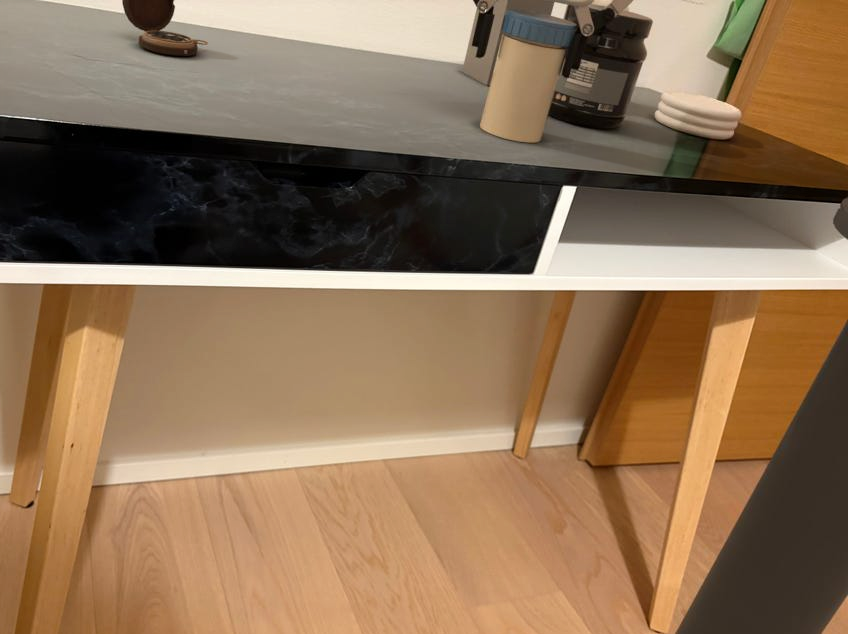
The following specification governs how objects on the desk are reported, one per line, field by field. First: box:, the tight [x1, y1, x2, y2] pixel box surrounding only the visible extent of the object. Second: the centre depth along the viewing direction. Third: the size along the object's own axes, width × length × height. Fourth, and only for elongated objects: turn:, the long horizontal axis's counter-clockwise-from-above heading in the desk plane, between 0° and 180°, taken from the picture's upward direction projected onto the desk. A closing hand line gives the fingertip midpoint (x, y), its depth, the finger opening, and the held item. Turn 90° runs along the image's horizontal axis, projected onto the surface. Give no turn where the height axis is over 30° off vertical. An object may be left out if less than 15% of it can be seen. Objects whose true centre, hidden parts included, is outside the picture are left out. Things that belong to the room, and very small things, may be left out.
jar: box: [479, 33, 567, 144], centre depth 80 cm, size 6×6×11 cm
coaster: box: [654, 90, 742, 141], centre depth 102 cm, size 10×10×4 cm
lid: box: [501, 9, 577, 47], centre depth 77 cm, size 7×7×2 cm
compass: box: [121, 0, 209, 57], centre depth 85 cm, size 8×8×7 cm
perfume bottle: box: [461, 0, 555, 87], centre depth 102 cm, size 7×7×18 cm
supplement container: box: [548, 3, 654, 130], centre depth 93 cm, size 10×10×12 cm
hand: (522, 65), depth 79 cm, fingers open, 8 cm apart
